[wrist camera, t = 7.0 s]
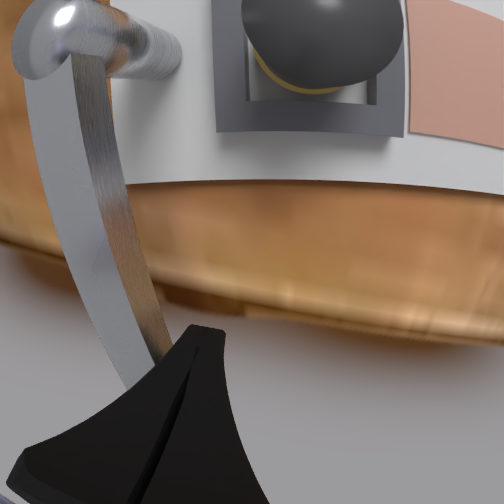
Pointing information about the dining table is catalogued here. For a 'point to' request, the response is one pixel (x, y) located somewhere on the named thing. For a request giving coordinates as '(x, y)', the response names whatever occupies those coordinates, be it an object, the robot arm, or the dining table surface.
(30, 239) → the dining table surface
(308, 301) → the dining table surface
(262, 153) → the dock board
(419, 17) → the pad
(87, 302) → the retention clip
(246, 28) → the plug
